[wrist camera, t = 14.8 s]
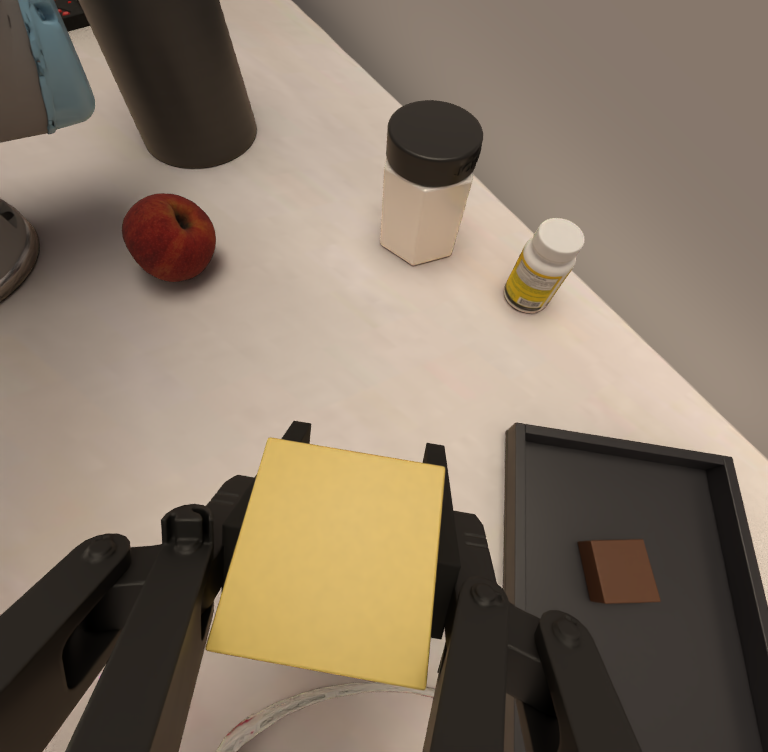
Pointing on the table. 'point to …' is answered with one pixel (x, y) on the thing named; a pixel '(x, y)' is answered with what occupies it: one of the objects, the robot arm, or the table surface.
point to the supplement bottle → (543, 265)
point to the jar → (427, 178)
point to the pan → (671, 573)
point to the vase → (176, 77)
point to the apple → (169, 236)
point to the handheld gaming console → (71, 14)
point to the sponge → (335, 565)
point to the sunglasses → (274, 713)
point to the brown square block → (618, 571)
